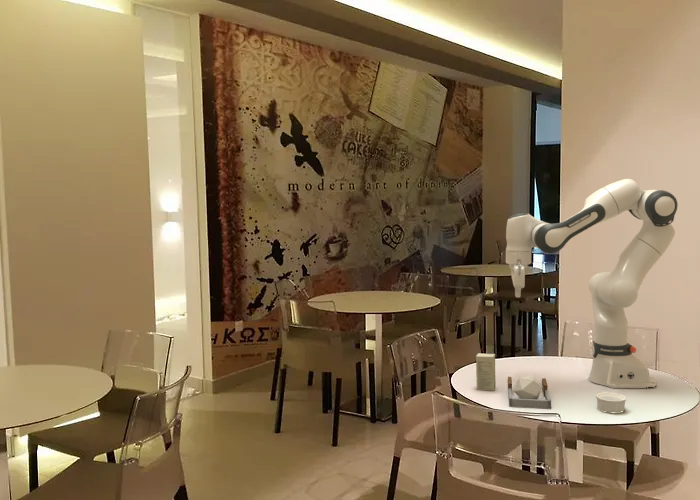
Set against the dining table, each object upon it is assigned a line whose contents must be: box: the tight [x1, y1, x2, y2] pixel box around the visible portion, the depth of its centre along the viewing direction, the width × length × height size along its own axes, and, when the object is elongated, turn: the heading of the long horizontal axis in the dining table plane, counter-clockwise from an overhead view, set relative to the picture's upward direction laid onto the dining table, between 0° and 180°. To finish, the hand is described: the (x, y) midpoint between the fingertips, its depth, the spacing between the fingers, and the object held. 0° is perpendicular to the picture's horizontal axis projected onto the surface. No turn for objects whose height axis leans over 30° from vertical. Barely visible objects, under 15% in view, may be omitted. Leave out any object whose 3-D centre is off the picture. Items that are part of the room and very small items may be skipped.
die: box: [513, 375, 543, 400], centre depth 222 cm, size 8×9×10 cm
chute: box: [507, 376, 549, 398], centre depth 230 cm, size 13×8×4 cm, turn 78°
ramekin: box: [595, 391, 627, 413], centre depth 212 cm, size 9×9×4 cm
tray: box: [507, 387, 552, 410], centre depth 220 cm, size 13×11×2 cm
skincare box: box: [475, 352, 497, 392], centre depth 234 cm, size 6×4×12 cm
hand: (517, 296), depth 240 cm, fingers closed
